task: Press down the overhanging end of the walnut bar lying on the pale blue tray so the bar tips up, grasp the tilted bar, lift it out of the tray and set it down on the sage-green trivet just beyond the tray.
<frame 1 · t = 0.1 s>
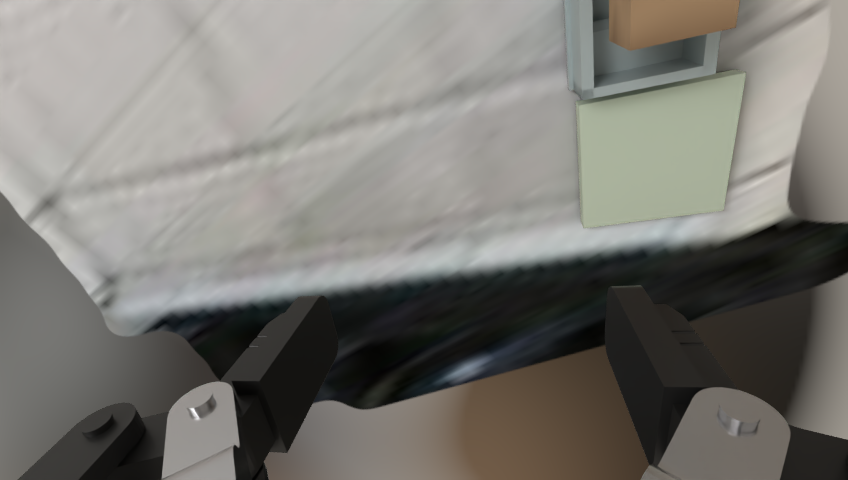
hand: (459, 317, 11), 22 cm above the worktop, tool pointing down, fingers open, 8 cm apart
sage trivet: (648, 154, 30), on the worktop
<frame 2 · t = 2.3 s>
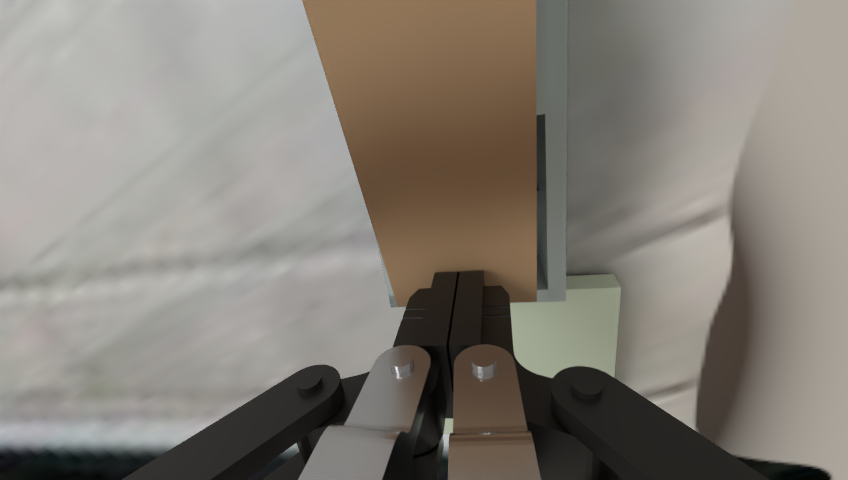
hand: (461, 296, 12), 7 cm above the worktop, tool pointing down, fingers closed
pale blue tray: (461, 107, 17), on the worktop
walnut bar: (451, 107, 13), point 4 cm above the worktop, tilted 12°, touching pale blue tray, gripper
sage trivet: (513, 355, 22), on the worktop
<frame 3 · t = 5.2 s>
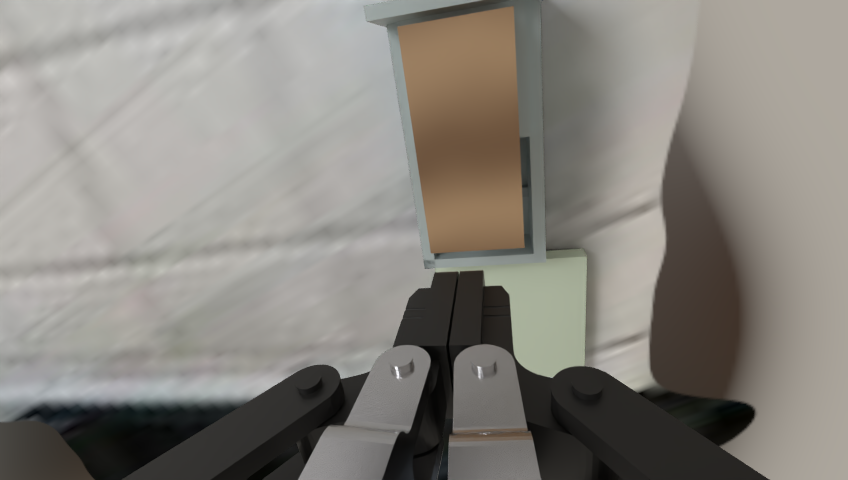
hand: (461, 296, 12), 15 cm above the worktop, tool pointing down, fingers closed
pale blue tray: (474, 130, 25), on the worktop
walnut bar: (470, 131, 21), point 4 cm above the worktop, touching pale blue tray
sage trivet: (511, 313, 30), on the worktop
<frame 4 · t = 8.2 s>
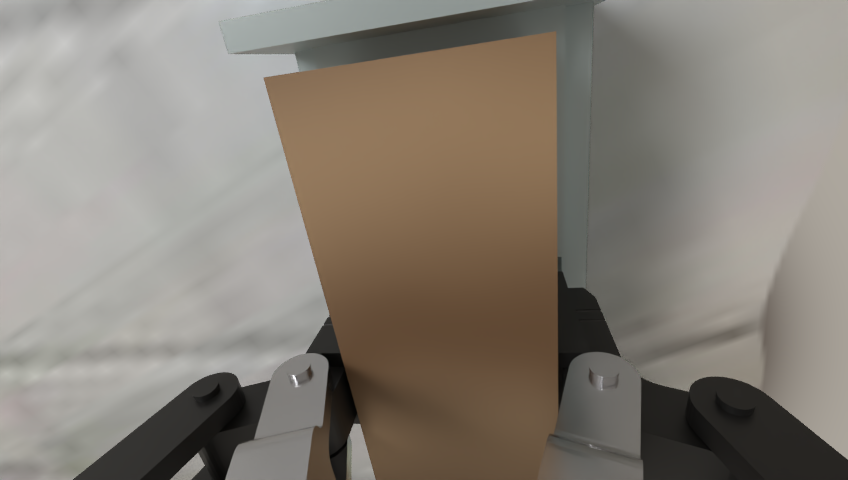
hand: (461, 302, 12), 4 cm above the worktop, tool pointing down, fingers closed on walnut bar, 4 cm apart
pale blue tray: (465, 213, 15), on the worktop
walnut bar: (455, 244, 12), point 4 cm above the worktop, touching pale blue tray, gripper
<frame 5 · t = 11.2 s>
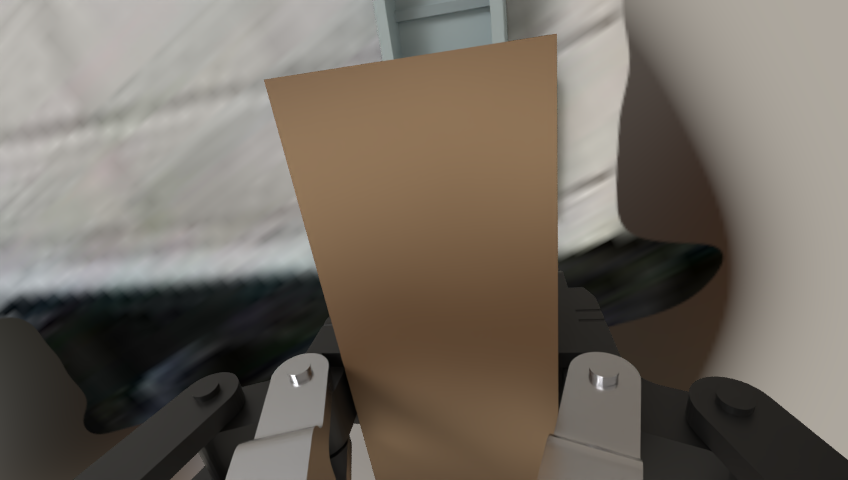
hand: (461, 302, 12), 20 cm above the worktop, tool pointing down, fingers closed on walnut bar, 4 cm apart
walnut bar: (456, 245, 12), point 19 cm above the worktop, touching gripper
when the fingers open (5 cm above the worktop, at t = 14.2 s): walnut bar drops 3 cm, resting on pale blue tray, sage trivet.
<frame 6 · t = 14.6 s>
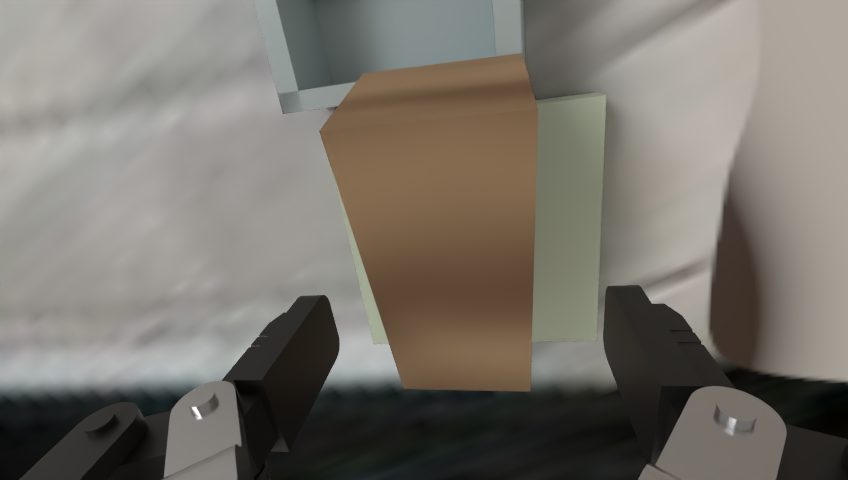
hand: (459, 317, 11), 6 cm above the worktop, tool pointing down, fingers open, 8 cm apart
walnut bar: (457, 210, 14), point 2 cm above the worktop, tilted 14°, touching pale blue tray, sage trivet
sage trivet: (469, 230, 17), on the worktop
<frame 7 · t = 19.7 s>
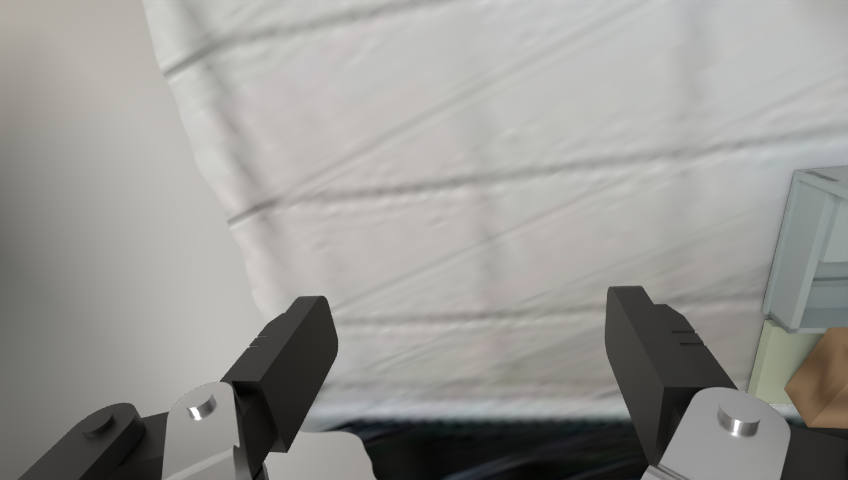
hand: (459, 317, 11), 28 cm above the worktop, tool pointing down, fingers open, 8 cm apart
pale blue tray: (828, 239, 36), on the worktop
walnut bar: (832, 360, 38), point 2 cm above the worktop, tilted 14°, touching pale blue tray, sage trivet
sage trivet: (811, 358, 41), on the worktop
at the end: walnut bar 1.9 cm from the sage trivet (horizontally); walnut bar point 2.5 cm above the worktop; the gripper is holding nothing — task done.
